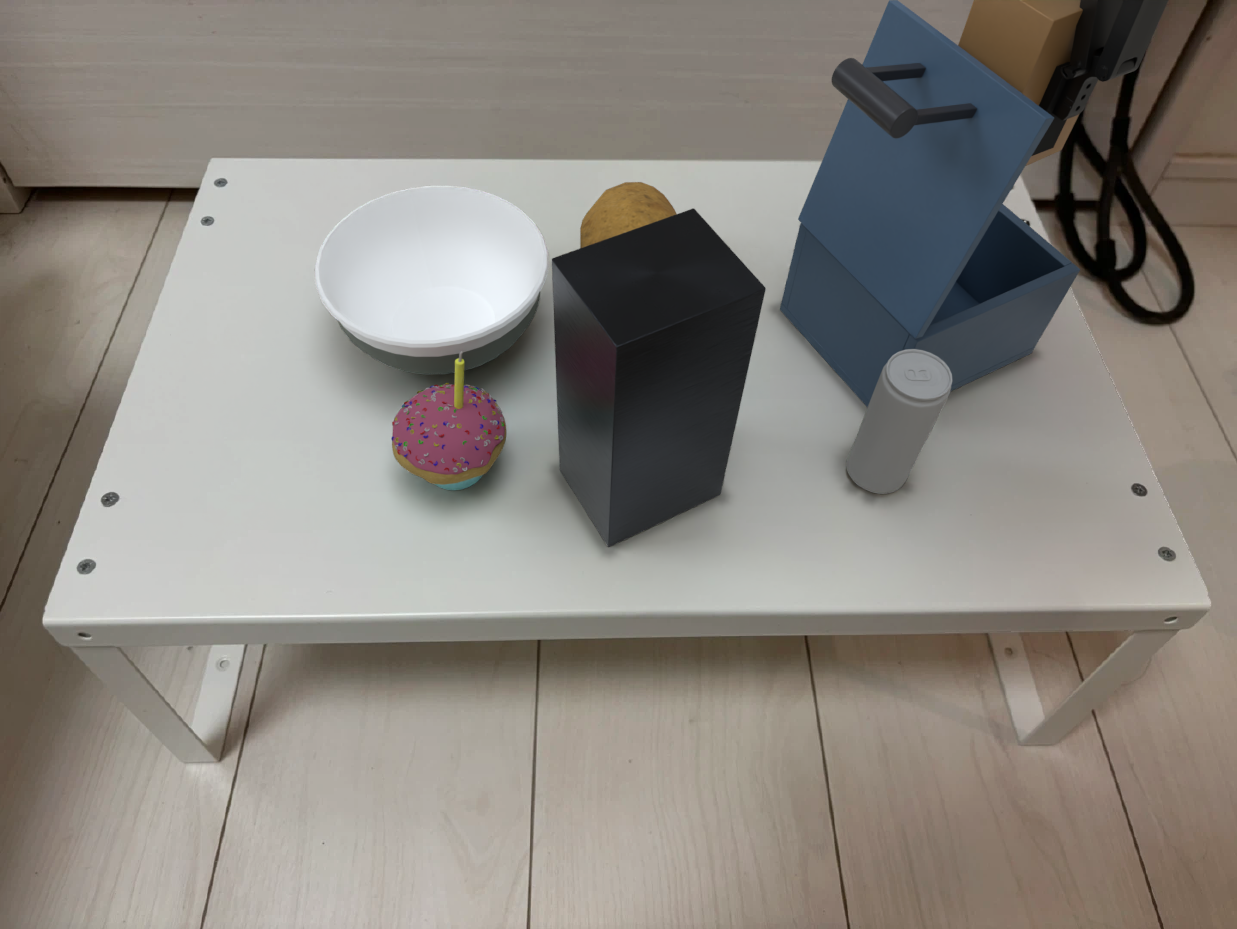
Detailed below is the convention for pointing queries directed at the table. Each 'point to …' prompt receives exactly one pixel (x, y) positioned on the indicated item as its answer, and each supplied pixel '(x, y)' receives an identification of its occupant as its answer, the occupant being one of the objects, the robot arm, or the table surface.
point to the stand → (650, 369)
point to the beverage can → (898, 420)
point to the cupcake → (449, 433)
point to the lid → (917, 164)
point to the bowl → (433, 277)
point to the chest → (965, 323)
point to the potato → (623, 211)
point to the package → (1024, 45)
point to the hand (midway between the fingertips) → (1001, 123)
